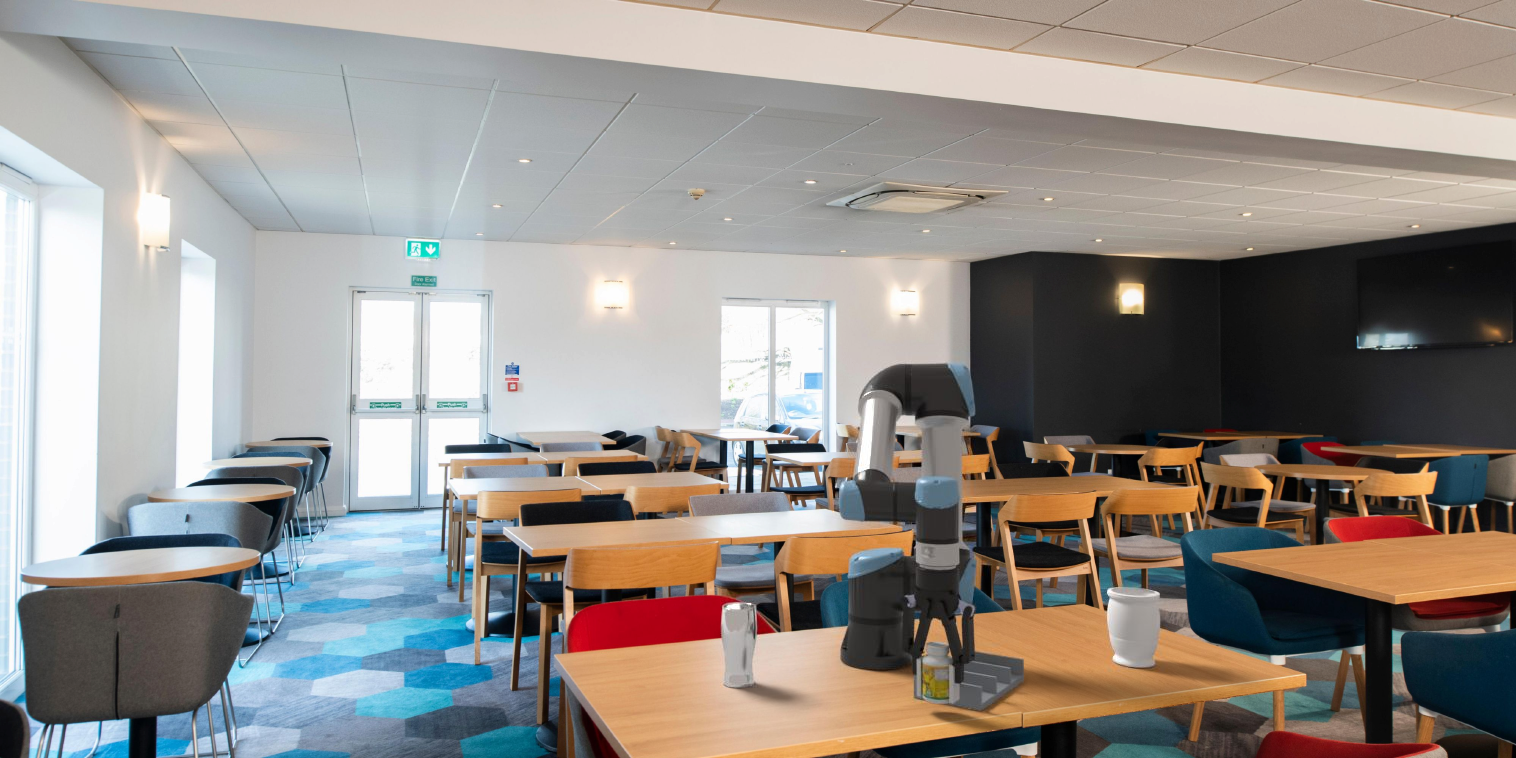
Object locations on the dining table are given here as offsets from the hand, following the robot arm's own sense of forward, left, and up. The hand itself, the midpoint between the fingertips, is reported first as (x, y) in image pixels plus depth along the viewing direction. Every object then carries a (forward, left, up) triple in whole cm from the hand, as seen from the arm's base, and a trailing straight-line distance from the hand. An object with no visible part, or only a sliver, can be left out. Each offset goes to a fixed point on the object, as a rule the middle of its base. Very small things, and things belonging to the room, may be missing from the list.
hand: (938, 697), depth 161 cm
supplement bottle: (0, 0, -1) cm, 1 cm away
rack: (-1, +16, -3) cm, 17 cm away
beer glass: (-39, -7, -3) cm, 39 cm away
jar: (+20, +53, -3) cm, 57 cm away
